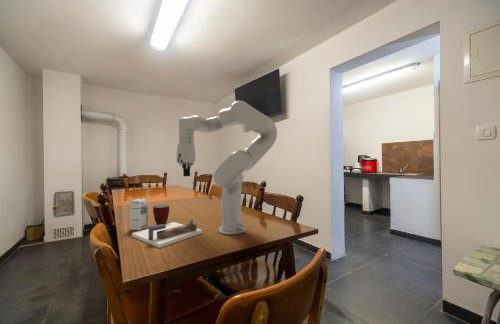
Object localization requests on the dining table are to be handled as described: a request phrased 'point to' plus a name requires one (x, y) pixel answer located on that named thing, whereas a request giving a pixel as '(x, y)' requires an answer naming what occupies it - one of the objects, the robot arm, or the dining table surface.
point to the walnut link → (177, 230)
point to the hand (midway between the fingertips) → (186, 176)
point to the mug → (161, 213)
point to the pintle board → (168, 240)
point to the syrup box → (138, 214)
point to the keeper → (153, 228)
